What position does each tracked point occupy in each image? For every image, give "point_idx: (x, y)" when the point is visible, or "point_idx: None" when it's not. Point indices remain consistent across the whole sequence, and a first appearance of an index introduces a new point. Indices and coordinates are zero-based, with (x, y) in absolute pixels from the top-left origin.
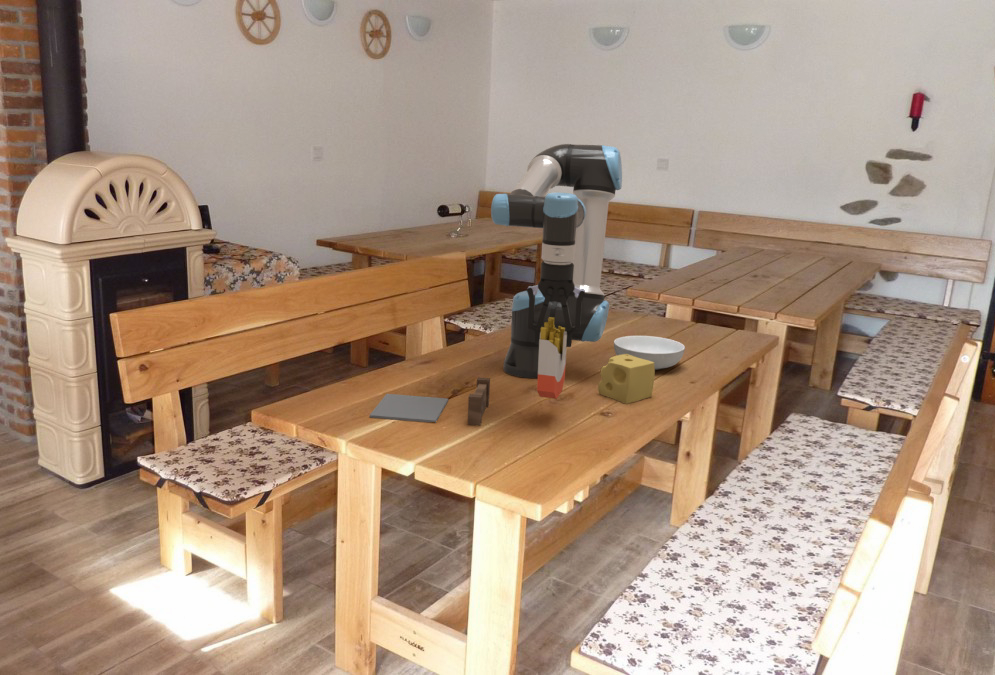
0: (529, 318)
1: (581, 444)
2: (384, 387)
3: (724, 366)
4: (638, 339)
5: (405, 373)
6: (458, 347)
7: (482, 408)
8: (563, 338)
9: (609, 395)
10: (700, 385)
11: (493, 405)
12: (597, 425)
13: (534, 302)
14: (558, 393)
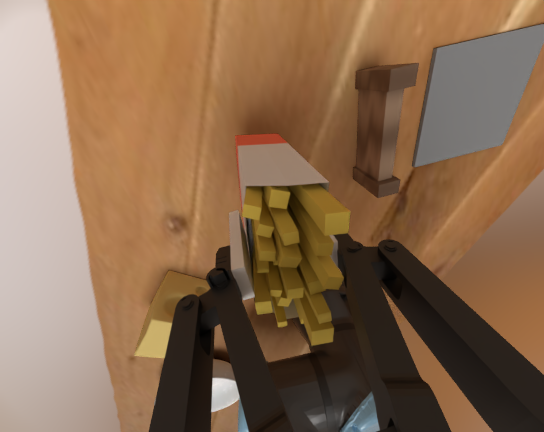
0: (424, 271)
1: (143, 50)
2: (495, 175)
3: (127, 400)
4: (223, 402)
5: (462, 232)
6: (401, 319)
7: (365, 126)
8: (242, 255)
9: (200, 280)
10: (117, 356)
11: (346, 179)
12: (165, 171)
13: (476, 378)
14: (238, 175)
